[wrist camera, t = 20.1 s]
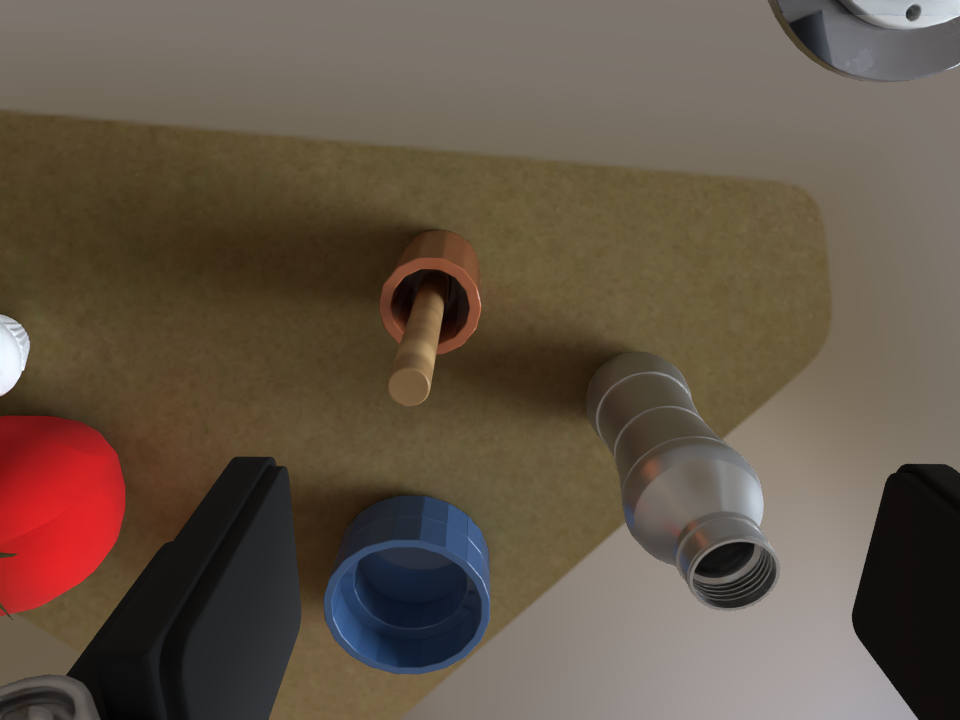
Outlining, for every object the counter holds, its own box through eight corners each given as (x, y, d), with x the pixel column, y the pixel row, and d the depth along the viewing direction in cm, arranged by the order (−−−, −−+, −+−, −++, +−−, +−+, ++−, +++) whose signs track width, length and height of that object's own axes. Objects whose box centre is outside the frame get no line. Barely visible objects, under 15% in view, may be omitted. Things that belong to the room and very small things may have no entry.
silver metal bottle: (688, 410, 46) (833, 610, 27) (595, 442, 47) (675, 657, 28) (662, 328, 44) (801, 483, 25) (566, 363, 45) (632, 538, 26)
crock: (397, 229, 42) (376, 257, 33) (480, 230, 42) (482, 258, 33) (399, 308, 43) (380, 354, 35) (479, 309, 43) (480, 355, 35)
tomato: (190, 466, 47) (106, 569, 37) (84, 574, 50) (-23, 698, 40) (44, 351, 44) (-96, 427, 33) (-60, 474, 47) (-219, 579, 37)
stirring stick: (422, 256, 42) (382, 359, 24) (451, 256, 42) (432, 359, 24) (423, 290, 42) (384, 414, 25) (451, 290, 42) (433, 414, 25)
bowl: (336, 489, 48) (318, 539, 42) (489, 491, 48) (491, 540, 43) (345, 613, 52) (329, 673, 46) (486, 614, 52) (488, 674, 46)
